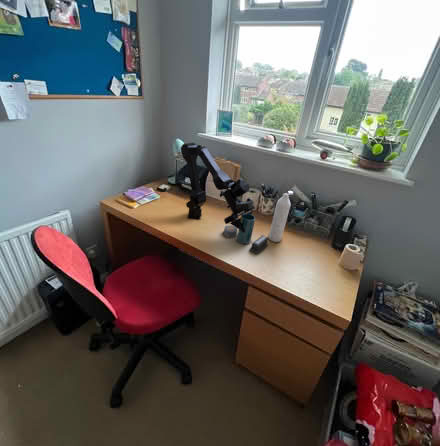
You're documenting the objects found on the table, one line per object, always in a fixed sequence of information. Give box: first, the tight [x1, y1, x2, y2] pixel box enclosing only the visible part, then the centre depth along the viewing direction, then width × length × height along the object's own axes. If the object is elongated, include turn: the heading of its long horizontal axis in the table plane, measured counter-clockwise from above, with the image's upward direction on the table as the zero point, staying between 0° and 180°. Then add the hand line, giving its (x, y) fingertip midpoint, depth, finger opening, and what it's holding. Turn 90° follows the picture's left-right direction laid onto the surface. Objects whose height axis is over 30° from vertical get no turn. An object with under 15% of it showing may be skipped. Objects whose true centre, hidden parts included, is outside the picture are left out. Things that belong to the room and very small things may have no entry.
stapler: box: [249, 235, 269, 255], centre depth 116 cm, size 10×4×4 cm, turn 142°
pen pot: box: [236, 213, 256, 245], centre depth 118 cm, size 7×7×13 cm
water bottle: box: [267, 190, 294, 243], centre depth 120 cm, size 9×6×25 cm
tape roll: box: [223, 224, 238, 238], centre depth 125 cm, size 7×7×3 cm
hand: (248, 229), depth 117 cm, fingers closed on pen pot, 7 cm apart
